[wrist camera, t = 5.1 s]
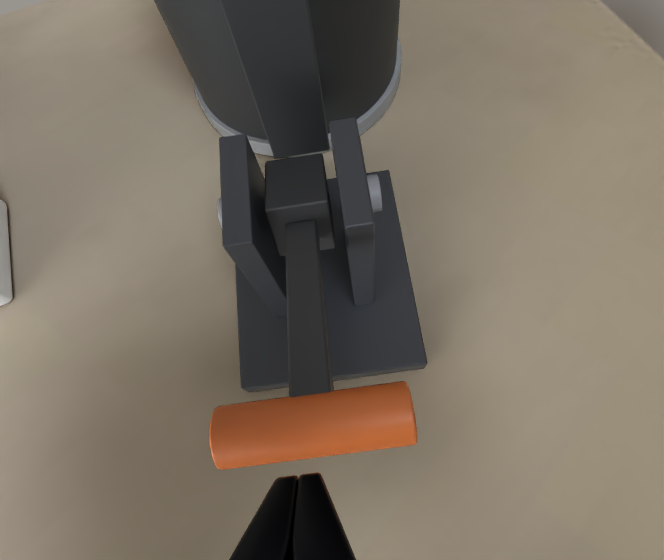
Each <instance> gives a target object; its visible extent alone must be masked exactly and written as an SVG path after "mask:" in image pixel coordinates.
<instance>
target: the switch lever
mask: <svg viewBox="0 0 664 560" xmlns="http://www.w3.org/2000/svg"><path fill="white" fill-rule="evenodd" d="M265 213H266V217H267V220H268V223H269V226H270V229H271V232H272V235H273V238H274V241H275V244H276V247H277V251H278V254H279V255H280V256H285V255H286V289H287V326H288V364H289V397H282V398H275V399H268V400H260V401H253V402H245V403H238V404H231V405H223V406H218V407H217V408H215V410H214V411H213V414H212V417H211V422H210V431H209V440H210V449H211V454H212V458H213V461H214V463H215V465H216V467H217V468H219V469H222V470H224V469H231V468H239V467H247V466H255V465H262V464H270V463H278V462H286V461H293V460H301V459H309V458H317V457H324V456H332V455H340V454H348V453H355V452H363V451H371V450H379V449H386V448H394V447H402V446H410V445H415V444H416V443H417V428H416V420H415V414H414V408H413V403H412V398H411V394H410V390H409V387H408V385H407V383H406V382H404V381H401V382H393V383H386V384H379V385H371V386H364V387H356V388H349V389H342V390H334V388H333V377H332V367H331V356H330V346H329V336H328V325H327V315H326V304H325V294H324V283H323V273H322V262H321V252H320V250H326V249H333V248H335V247H336V242H335V235H334V227H333V219H332V211H331V203H330V196H329V190H328V184H327V178H326V172H325V166H324V160H323V155H322V153H318V154H312V155H305V156H299V157H293V158H286V159H280V160H274V161H267V162H266V163H265Z"/></svg>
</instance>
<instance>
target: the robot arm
mask: <svg viewBox="0 0 664 560" xmlns="http://www.w3.org/2000/svg"><path fill="white" fill-rule="evenodd" d="M229 560H356V558H355V556H354V553H353V551H352V548H351V546H350V544H349V541H348V539H347V536H346V534H345V531H344V529H343V526H342V524H341V522H340V519H339V517H338V514H337V512H336V509H335V507H334V505H333V502H332V500H331V497H330V495H329V492H328V490H327V487H326V485H325V483H324V480H323V478H322V476H321V474H320V473H310V474H303V475H301V476H300V477H299V478H298V477H297V476H287V477H280V478H277V479H276V480H275V481H274V483H273V485H272V486H271V488H270V490H269V492H268V493H267V495H266V497H265V499H264V500H263V502H262V504H261V505H260V507H259V509H258V511H257V512H256V514H255V516H254V518H253V519H252V521H251V523H250V524H249V526H248V528H247V530H246V531H245V533H244V535H243V537H242V538H241V540H240V542H239V543H238V545H237V547H236V549H235V550H234V552H233V554H232V556H231V557H230V559H229Z"/></svg>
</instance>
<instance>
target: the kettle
mask: <svg viewBox="0 0 664 560" xmlns="http://www.w3.org/2000/svg"><path fill="white" fill-rule="evenodd" d="M154 1H155V3H156V5H157V7H158V9H159V11H160V13H161V15H162V17H163V19H164V21H165V23H166V25H167V27H168V30H169V32H170V34H171V36H172V38H173V40H174V42H175V44H176V46H177V48H178V50H179V52H180V54H181V56H182V58H183V60H184V62H185V64H186V66H187V68H188V70H189V72H190V74H191V76H192V78H193V85H194V90H195V93H196V97H197V99H198V101H199V103H200V105H201V107H202V109H203V111H204V113H205V115H206V117H207V119H208V120H209V121H210V123H211V124H212V126H213V127H214V128H215V129H216V130H217V131H218V132H219V133H220V134H221V135H222V136H223V137H227V136H233V135H239V134H246V135H247V138H248V140H249V142H250V145H251V147H252V150H253V152H254V153H258V154H262V155H266V156H274V158H275V159H277V158H283V157H299V156H305V155H312V154H318V153H323V152H326V151H329V150H332V142H331V134H330V127H329V122H330V121H331V120H337V119H343V118H349V117H355V118H356V119H357V124H358V130H359V135H362V134H363V133H364V132H366V131H367V130H368V129H369V128H371V127H372V126H373V125H374V124H375V123H376V122H377V121H378V120H379V119H380V118H381V117H382V115H383V114H384V113H385V111H386V110H387V109H388V107H389V105H390V104H391V102H392V100H393V98H394V96H395V93H396V91H397V88H398V84H399V79H400V71H401V46H400V41H399V38H398V24H399V7H400V0H154Z"/></svg>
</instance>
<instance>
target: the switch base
mask: <svg viewBox="0 0 664 560" xmlns="http://www.w3.org/2000/svg"><path fill="white" fill-rule="evenodd" d="M329 127H330V134H331V142H332V149H333V156H334V163H335V170H336V177H337V178H334V179H327V184H328V190H329V196H330V203H331V211H332V219H333V227H334V235H335V242H336V247H335V248H333V249H326V250H320V252H321V262H322V273H323V283H324V294H325V304H326V315H327V325H328V336H329V346H330V356H331V367H332V377H333V381H335V380H343V379H350V378H357V377H365V376H372V375H379V374H387V373H394V372H401V371H409V370H416V369H423V368H425V366H426V365H427V359H426V354H425V349H424V343H423V338H422V333H421V328H420V323H419V318H418V313H417V308H416V303H415V298H414V293H413V288H412V283H411V278H410V273H409V268H408V263H407V258H406V253H405V248H404V243H403V238H402V233H401V228H400V223H399V218H398V213H397V208H396V203H395V198H394V193H393V188H392V183H391V178H390V173H389V170H386V171H379V172H373V173H366V169H365V164H364V158H363V152H362V147H361V141H360V135H359V130H358V124H357V119H356V118H355V117H349V118H343V119H337V120H331V121H330V122H329ZM219 147H220V177H221V198H220V199H219V200H218V204H217V211H218V218H219V222H220V225H221V228H222V237H223V247H224V248H225V250H226V251H227V252H228V254H229V255H230V256H231V258H232V259H233V260H234V262H235V264H236V287H237V310H238V332H239V355H240V377H241V389H242V390H245V391H247V392H254V391H262V390H269V389H276V388H284V387H289V364H288V326H287V289H286V255H285V256H280V255H279V254H278V251H277V247H276V244H275V241H274V238H273V235H272V232H271V229H270V226H269V223H268V220H267V217H266V213H265V179H264V177H263V174H262V172H261V169H260V167H259V164H258V162H257V160H256V157H255V155H254V152H253V150H252V147H251V145H250V142H249V140H248V138H247V135H246V134H239V135H233V136H227V137H220V138H219Z"/></svg>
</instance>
